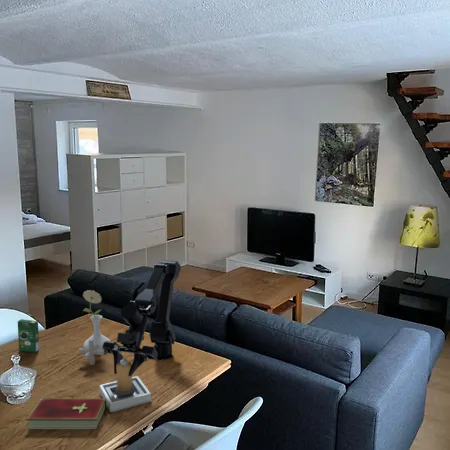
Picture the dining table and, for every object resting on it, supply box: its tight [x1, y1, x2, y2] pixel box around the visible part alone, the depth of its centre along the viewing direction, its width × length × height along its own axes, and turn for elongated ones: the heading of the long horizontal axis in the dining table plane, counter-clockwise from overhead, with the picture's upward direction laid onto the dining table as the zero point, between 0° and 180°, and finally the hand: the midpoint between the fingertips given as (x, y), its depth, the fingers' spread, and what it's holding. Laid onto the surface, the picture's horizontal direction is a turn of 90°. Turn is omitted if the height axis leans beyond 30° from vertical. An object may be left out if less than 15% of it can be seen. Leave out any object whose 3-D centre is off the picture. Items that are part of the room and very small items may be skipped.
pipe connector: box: [78, 338, 105, 366], centre depth 183 cm, size 10×10×10 cm
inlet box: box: [99, 375, 152, 413], centre depth 160 cm, size 14×14×3 cm
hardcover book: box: [26, 398, 107, 430], centre depth 147 cm, size 12×21×4 cm, turn 90°
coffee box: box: [17, 319, 40, 353], centre depth 194 cm, size 8×3×13 cm, turn 79°
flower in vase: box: [82, 289, 111, 351], centre depth 196 cm, size 13×11×25 cm
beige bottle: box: [115, 358, 135, 397], centre depth 159 cm, size 6×6×12 cm
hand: (122, 374), depth 157 cm, fingers closed on beige bottle, 5 cm apart
